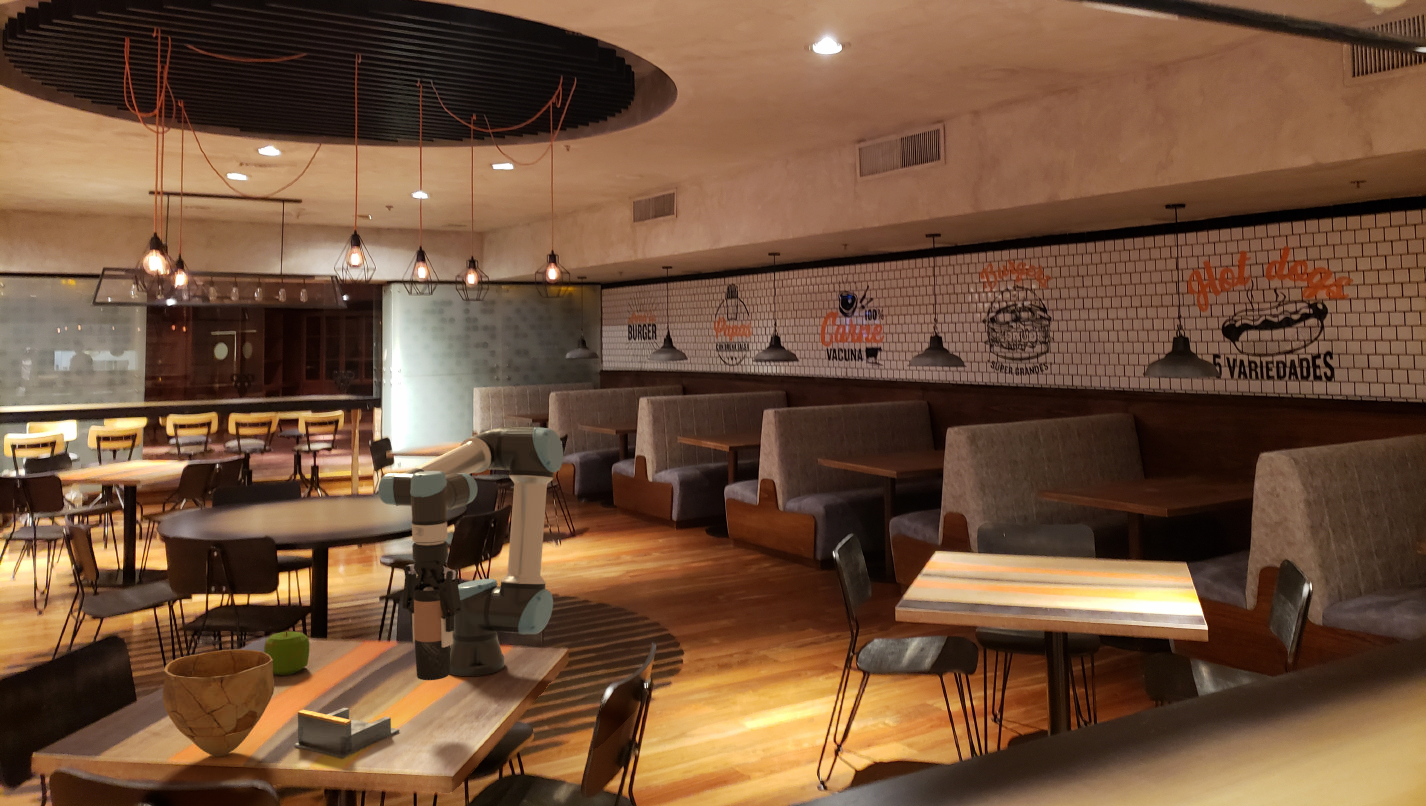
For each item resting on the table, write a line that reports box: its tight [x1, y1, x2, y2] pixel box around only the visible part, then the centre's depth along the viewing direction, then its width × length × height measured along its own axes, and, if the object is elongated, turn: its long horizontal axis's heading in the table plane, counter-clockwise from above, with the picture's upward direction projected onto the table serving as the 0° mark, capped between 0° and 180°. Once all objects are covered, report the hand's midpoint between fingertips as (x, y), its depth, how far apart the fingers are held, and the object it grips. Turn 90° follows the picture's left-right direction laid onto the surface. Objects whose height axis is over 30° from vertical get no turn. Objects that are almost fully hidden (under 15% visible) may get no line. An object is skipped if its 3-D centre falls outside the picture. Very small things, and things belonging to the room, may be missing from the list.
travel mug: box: [414, 582, 451, 681], centre depth 217 cm, size 8×8×20 cm
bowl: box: [162, 648, 275, 758], centre depth 202 cm, size 21×20×20 cm
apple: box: [263, 630, 311, 676], centre depth 258 cm, size 11×11×11 cm
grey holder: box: [294, 707, 400, 760], centre depth 211 cm, size 16×14×7 cm
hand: (432, 643), depth 217 cm, fingers closed on travel mug, 8 cm apart
